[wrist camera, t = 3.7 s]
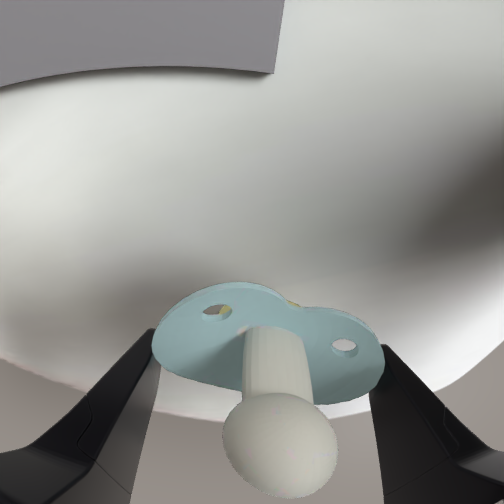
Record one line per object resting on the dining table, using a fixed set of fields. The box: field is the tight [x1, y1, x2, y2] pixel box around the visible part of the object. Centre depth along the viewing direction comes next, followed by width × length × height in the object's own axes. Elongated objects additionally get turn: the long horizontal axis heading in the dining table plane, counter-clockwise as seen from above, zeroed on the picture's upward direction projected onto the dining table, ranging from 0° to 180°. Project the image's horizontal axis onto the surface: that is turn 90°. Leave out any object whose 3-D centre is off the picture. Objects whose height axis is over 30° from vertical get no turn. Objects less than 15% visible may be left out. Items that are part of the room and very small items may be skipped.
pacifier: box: [152, 282, 385, 498], centre depth 8 cm, size 7×6×6 cm
